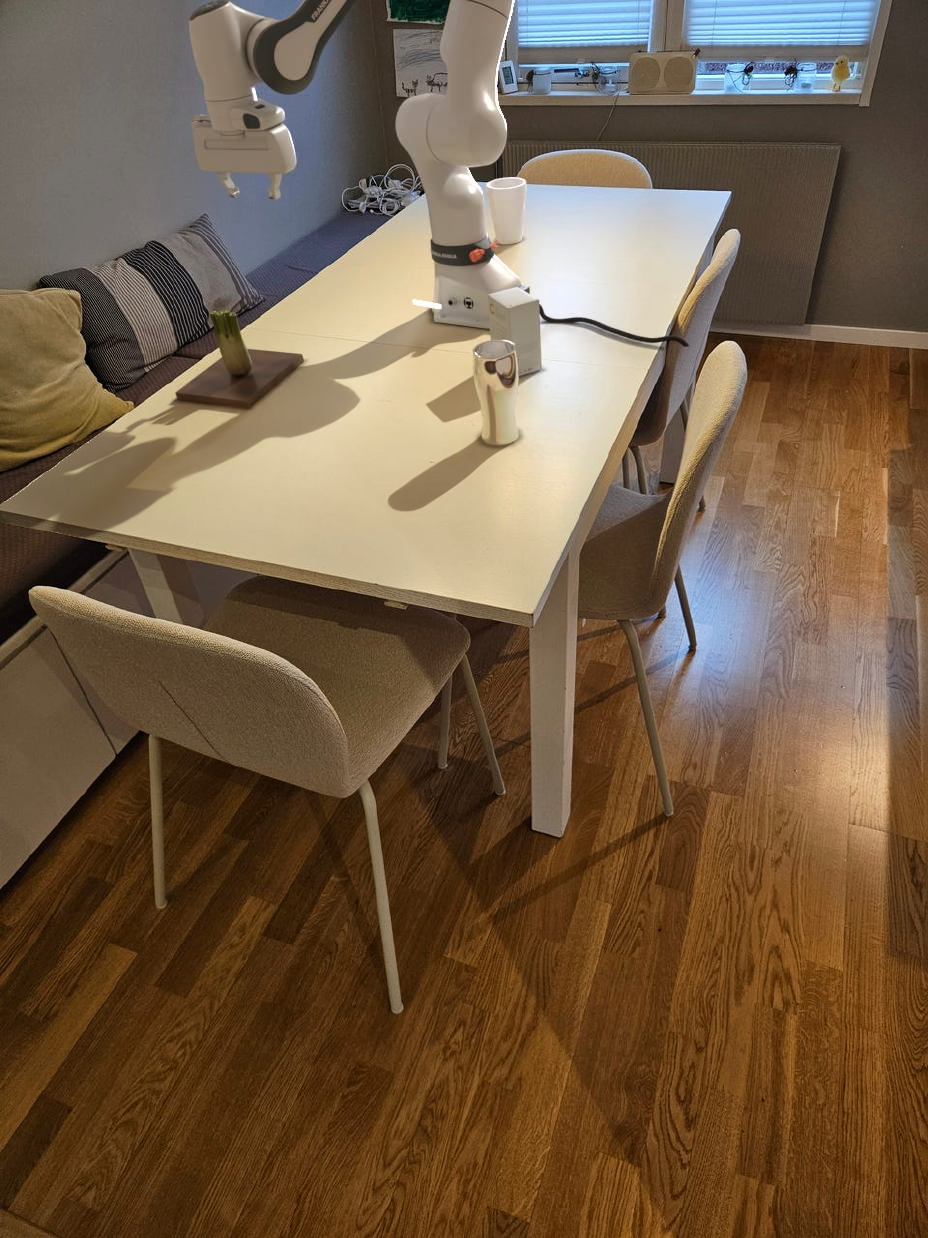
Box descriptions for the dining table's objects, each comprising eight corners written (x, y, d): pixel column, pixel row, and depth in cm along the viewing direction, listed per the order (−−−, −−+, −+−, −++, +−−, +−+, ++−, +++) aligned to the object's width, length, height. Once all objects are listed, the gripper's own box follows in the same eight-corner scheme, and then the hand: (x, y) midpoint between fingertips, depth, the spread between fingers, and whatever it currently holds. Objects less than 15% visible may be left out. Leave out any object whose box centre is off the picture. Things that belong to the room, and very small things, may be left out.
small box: (542, 369, 158) (540, 299, 150) (512, 379, 156) (508, 308, 148) (521, 354, 164) (517, 285, 155) (491, 363, 162) (486, 294, 154)
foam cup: (535, 235, 214) (533, 178, 206) (516, 247, 209) (513, 190, 200) (502, 232, 219) (498, 176, 210) (483, 244, 213) (479, 187, 205)
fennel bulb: (222, 372, 166) (204, 311, 158) (245, 363, 168) (228, 302, 160) (236, 381, 163) (218, 319, 155) (259, 372, 165) (243, 310, 157)
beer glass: (476, 428, 144) (469, 342, 134) (518, 423, 144) (513, 336, 134) (481, 449, 139) (473, 361, 129) (524, 444, 139) (519, 355, 129)
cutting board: (236, 354, 176) (234, 347, 175) (304, 360, 171) (302, 353, 170) (177, 399, 162) (174, 392, 162) (248, 408, 157) (246, 401, 156)
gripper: (177, 118, 155) (200, 200, 164) (271, 118, 147) (289, 204, 156) (199, 109, 159) (220, 190, 168) (291, 109, 151) (308, 193, 161)
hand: (254, 197), depth 162 cm, fingers open, 8 cm apart
